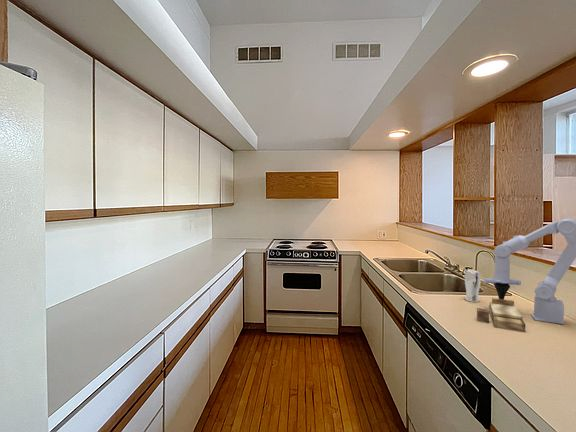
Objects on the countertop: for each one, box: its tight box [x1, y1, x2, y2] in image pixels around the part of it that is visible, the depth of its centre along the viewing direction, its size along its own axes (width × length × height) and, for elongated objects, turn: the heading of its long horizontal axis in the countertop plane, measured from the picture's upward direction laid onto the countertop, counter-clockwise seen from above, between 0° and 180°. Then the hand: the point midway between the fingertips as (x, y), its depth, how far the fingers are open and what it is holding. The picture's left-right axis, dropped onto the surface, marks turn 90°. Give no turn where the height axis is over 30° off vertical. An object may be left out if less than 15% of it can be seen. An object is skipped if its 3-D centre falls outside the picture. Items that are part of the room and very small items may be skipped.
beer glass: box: [464, 269, 482, 303], centre depth 156 cm, size 7×7×15 cm
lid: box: [489, 297, 523, 319], centre depth 131 cm, size 10×15×3 cm, turn 152°
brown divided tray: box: [488, 304, 526, 333], centre depth 130 cm, size 10×20×3 cm, turn 152°
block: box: [476, 307, 490, 324], centre depth 130 cm, size 4×4×4 cm
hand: (501, 299), depth 142 cm, fingers closed
